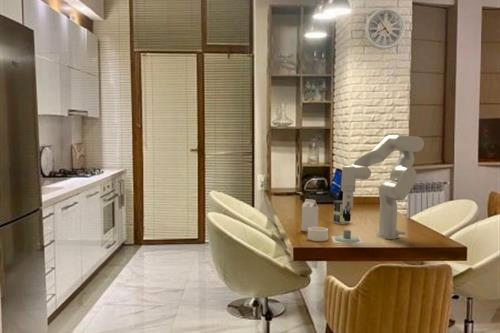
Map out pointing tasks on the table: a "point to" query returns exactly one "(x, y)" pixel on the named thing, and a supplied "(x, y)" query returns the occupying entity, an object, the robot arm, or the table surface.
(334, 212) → the coffee can
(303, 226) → the milk carton
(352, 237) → the lid
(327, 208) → the table surface
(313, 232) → the bowl
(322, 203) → the table surface
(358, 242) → the mat
